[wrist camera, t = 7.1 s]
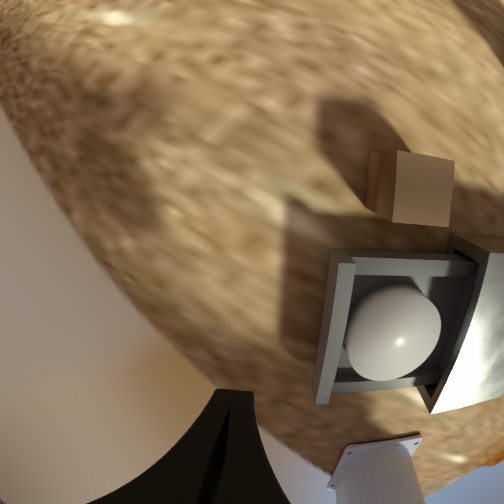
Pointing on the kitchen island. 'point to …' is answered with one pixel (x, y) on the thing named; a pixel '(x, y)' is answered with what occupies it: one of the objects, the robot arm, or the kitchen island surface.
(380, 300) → the white rounded dome
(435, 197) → the brown cardboard cube
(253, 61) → the kitchen island surface
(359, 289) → the tray
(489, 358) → the shiny gray metal block
